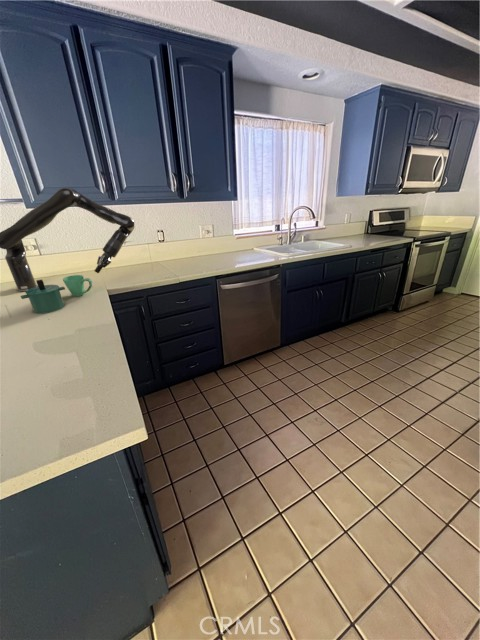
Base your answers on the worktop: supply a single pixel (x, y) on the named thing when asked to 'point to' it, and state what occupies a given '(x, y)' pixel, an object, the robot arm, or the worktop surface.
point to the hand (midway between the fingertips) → (96, 272)
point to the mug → (76, 284)
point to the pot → (46, 301)
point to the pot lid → (42, 289)
